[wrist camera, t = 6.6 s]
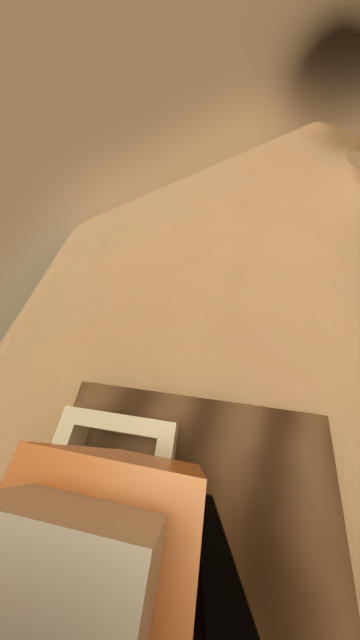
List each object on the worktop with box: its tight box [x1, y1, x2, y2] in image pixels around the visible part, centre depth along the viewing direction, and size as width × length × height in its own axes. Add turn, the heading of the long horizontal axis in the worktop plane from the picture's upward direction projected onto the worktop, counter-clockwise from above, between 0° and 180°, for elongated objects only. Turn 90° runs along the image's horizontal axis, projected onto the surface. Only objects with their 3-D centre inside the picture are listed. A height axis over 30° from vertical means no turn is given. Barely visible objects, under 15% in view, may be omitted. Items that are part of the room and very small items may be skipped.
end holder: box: [51, 405, 179, 459], centre depth 17 cm, size 9×9×3 cm
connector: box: [0, 441, 207, 640], centre depth 7 cm, size 4×4×11 cm
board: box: [73, 381, 360, 640], centre depth 18 cm, size 22×14×1 cm, turn 82°
